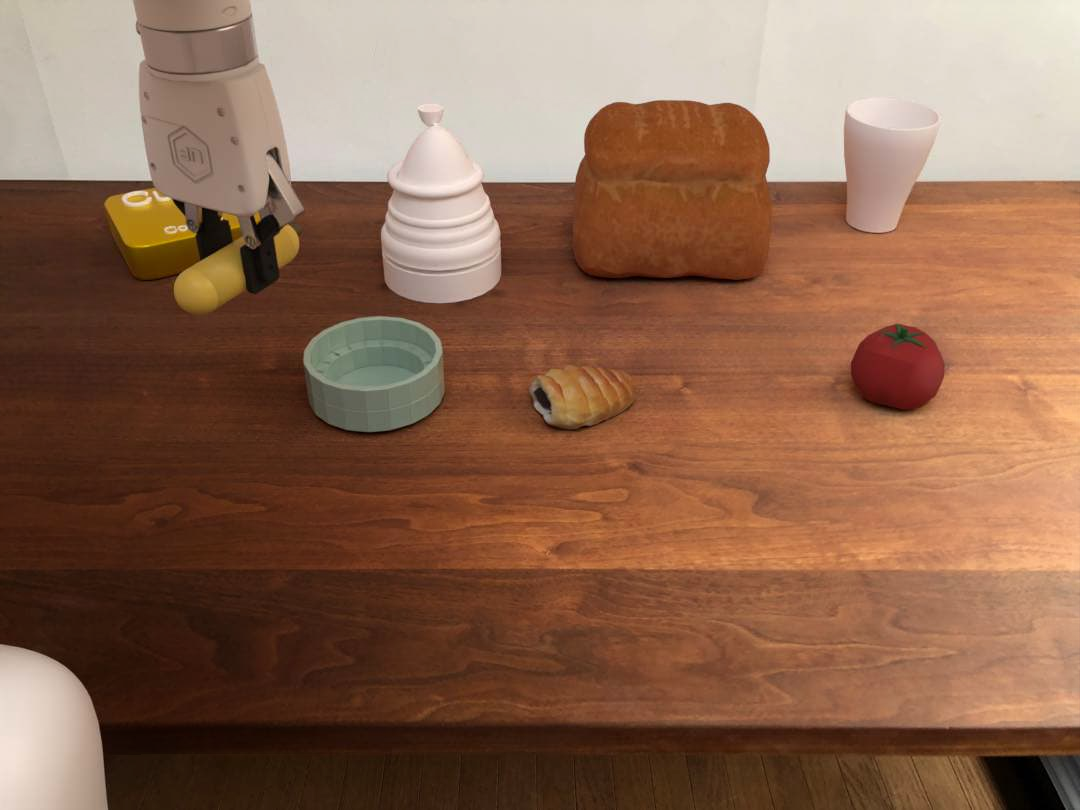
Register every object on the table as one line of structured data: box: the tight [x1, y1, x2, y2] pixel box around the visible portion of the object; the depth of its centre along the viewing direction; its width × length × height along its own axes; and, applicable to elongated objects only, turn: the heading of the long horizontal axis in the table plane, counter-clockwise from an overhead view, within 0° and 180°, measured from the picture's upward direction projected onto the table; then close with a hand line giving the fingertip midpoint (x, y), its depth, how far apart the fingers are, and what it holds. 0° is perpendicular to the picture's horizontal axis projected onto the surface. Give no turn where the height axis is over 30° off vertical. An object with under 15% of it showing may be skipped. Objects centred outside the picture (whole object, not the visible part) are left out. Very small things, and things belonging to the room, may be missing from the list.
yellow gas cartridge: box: [173, 223, 303, 316], centre depth 83 cm, size 14×4×4 cm, turn 152°
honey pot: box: [380, 103, 502, 304], centre depth 111 cm, size 13×13×18 cm
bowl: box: [302, 315, 446, 433], centre depth 95 cm, size 12×12×5 cm
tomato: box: [850, 322, 946, 411], centre depth 95 cm, size 8×8×7 cm
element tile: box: [103, 187, 261, 281], centre depth 120 cm, size 15×15×5 cm
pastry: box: [529, 364, 637, 430], centre depth 94 cm, size 9×7×4 cm
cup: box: [843, 97, 942, 234], centre depth 123 cm, size 10×10×14 cm
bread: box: [572, 99, 773, 281], centre depth 115 cm, size 18×22×17 cm
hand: (242, 277), depth 83 cm, fingers closed on yellow gas cartridge, 3 cm apart
